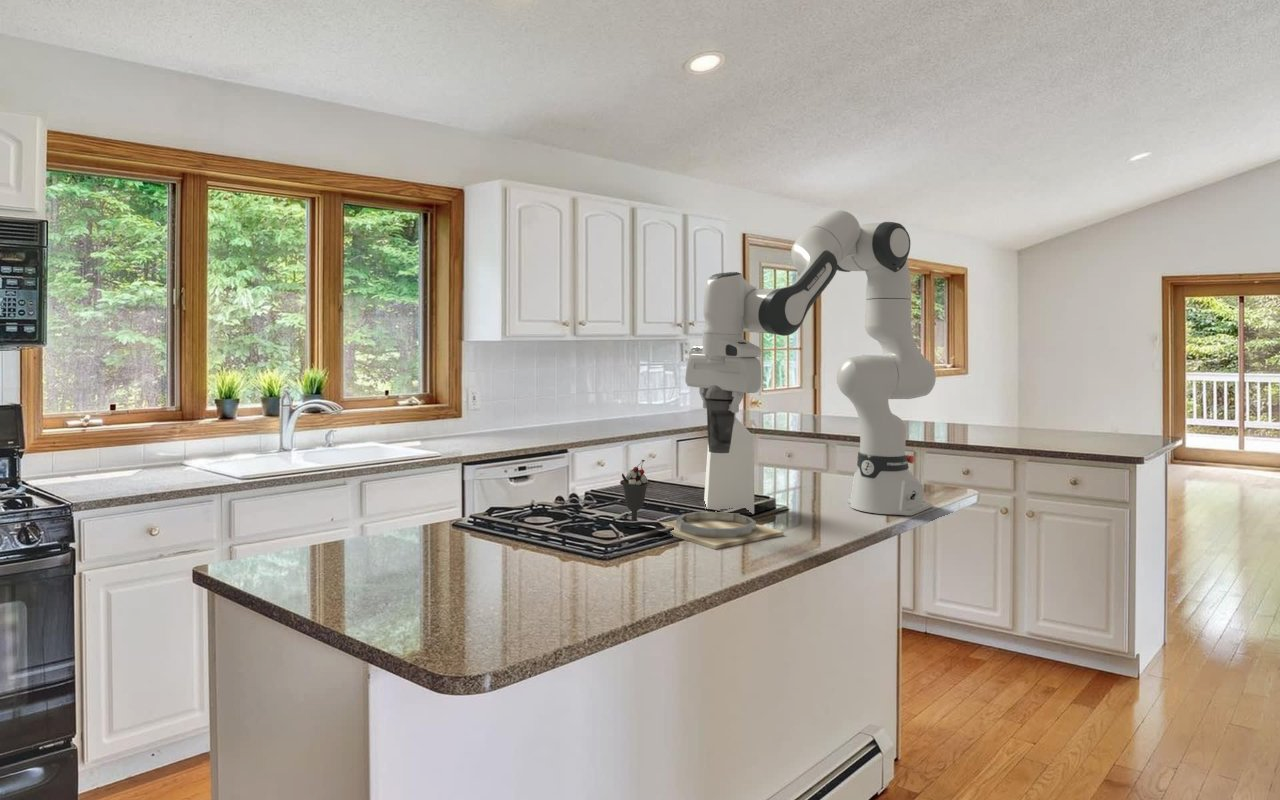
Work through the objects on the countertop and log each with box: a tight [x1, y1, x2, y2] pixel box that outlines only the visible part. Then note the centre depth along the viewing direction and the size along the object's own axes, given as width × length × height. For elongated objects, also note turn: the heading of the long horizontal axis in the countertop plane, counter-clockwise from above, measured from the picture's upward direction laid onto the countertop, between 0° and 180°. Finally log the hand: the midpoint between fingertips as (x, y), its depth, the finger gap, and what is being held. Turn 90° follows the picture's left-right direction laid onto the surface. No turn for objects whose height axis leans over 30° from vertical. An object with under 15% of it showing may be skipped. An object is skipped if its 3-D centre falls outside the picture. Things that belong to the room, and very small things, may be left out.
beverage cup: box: [705, 385, 735, 453], centre depth 189 cm, size 7×7×20 cm
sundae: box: [619, 459, 650, 522], centre depth 194 cm, size 7×7×15 cm
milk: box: [703, 413, 755, 515], centre depth 215 cm, size 12×12×26 cm
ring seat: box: [661, 511, 785, 550], centre depth 191 cm, size 21×21×3 cm
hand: (720, 410), depth 189 cm, fingers closed on beverage cup, 6 cm apart
